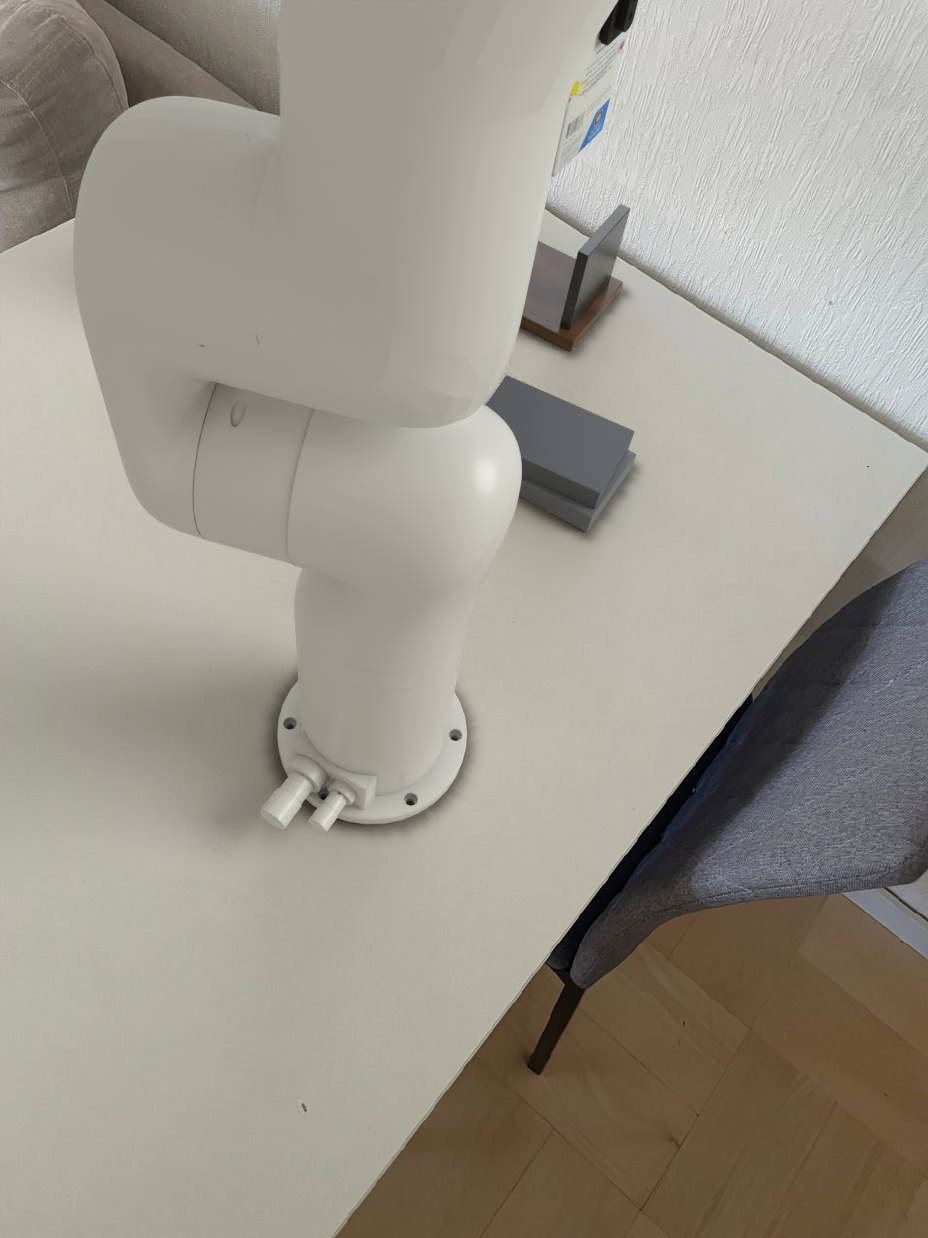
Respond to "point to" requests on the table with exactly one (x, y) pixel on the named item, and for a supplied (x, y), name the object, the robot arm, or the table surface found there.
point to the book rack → (574, 285)
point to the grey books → (564, 452)
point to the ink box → (588, 100)
